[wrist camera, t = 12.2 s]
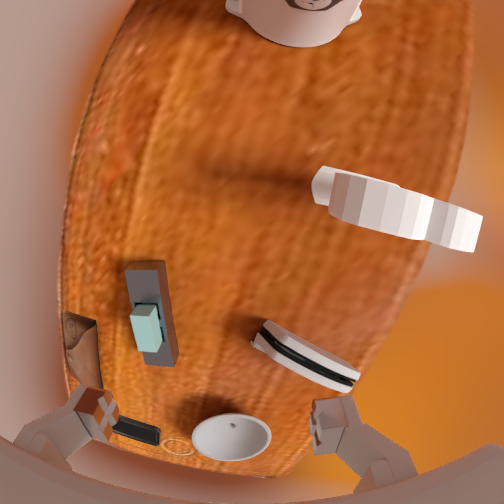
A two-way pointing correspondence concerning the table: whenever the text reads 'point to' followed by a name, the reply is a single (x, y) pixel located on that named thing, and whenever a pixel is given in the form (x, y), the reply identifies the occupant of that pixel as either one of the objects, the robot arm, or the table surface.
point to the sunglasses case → (82, 348)
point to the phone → (137, 430)
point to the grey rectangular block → (154, 291)
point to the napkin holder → (305, 358)
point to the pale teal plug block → (147, 327)
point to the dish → (231, 437)
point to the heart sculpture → (394, 209)
